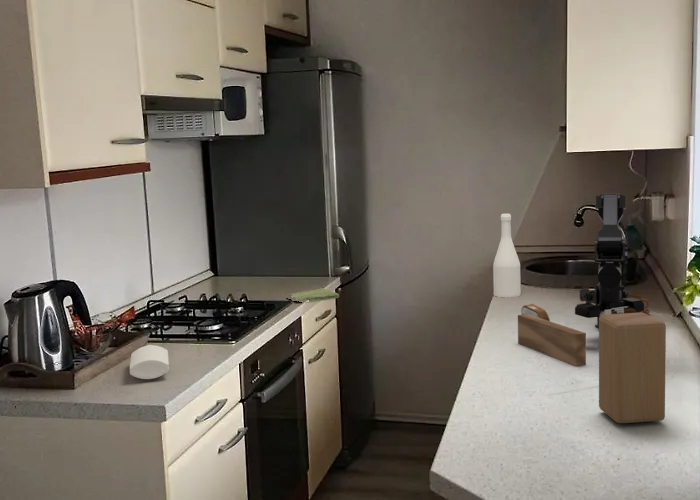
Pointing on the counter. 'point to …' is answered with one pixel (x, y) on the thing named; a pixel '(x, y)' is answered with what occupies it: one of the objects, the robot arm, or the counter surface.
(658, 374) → the wooden block
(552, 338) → the walnut board
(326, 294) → the washcloth
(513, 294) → the wine bottle
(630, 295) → the cup and saucer
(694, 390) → the counter surface
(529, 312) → the tin
